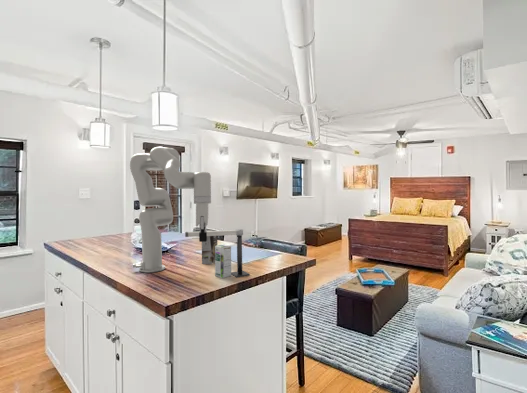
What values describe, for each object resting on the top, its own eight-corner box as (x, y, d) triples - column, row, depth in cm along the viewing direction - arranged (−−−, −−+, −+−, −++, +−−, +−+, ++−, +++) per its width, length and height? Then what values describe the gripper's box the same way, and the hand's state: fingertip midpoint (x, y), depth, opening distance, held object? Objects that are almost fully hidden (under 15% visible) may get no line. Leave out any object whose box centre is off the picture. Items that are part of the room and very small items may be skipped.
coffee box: (212, 264, 173) (212, 235, 172) (201, 264, 174) (201, 234, 174) (218, 260, 182) (217, 232, 181) (207, 260, 183) (207, 232, 182)
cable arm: (242, 234, 153) (242, 229, 153) (243, 235, 150) (243, 230, 149) (185, 236, 148) (185, 231, 148) (185, 237, 145) (185, 232, 145)
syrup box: (214, 276, 150) (214, 245, 150) (224, 273, 154) (224, 244, 154) (221, 278, 146) (221, 247, 146) (231, 275, 150) (231, 245, 150)
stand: (236, 277, 147) (235, 237, 146) (230, 274, 153) (229, 235, 152) (249, 275, 150) (249, 235, 150) (243, 272, 156) (242, 233, 156)
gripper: (195, 199, 147) (195, 238, 147) (192, 201, 132) (193, 244, 133) (211, 199, 148) (211, 238, 148) (210, 200, 133) (211, 244, 134)
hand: (203, 241), depth 140 cm, fingers closed
